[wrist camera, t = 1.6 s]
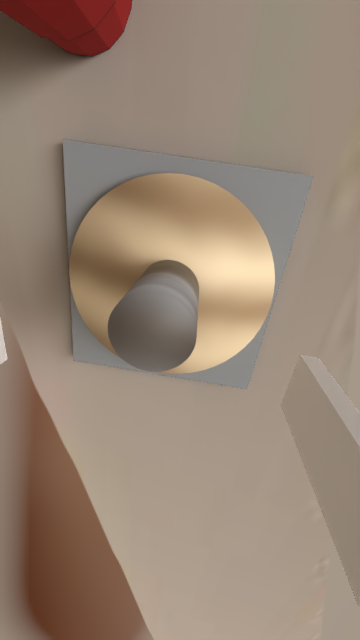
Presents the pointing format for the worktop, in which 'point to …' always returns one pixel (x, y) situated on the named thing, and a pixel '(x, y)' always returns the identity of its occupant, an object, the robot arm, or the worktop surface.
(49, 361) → the worktop surface
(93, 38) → the plastic cup
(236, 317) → the lid
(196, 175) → the mat
